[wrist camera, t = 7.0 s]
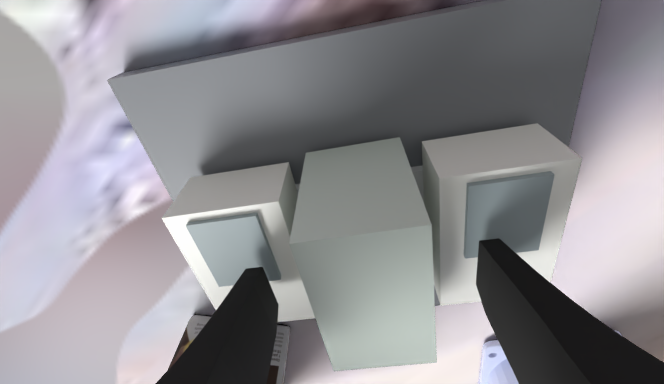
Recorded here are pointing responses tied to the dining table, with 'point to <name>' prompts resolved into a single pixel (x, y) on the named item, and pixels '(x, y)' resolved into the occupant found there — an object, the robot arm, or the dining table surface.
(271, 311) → the robot arm
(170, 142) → the board
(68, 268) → the dining table surface
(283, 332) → the coffee box
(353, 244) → the block
